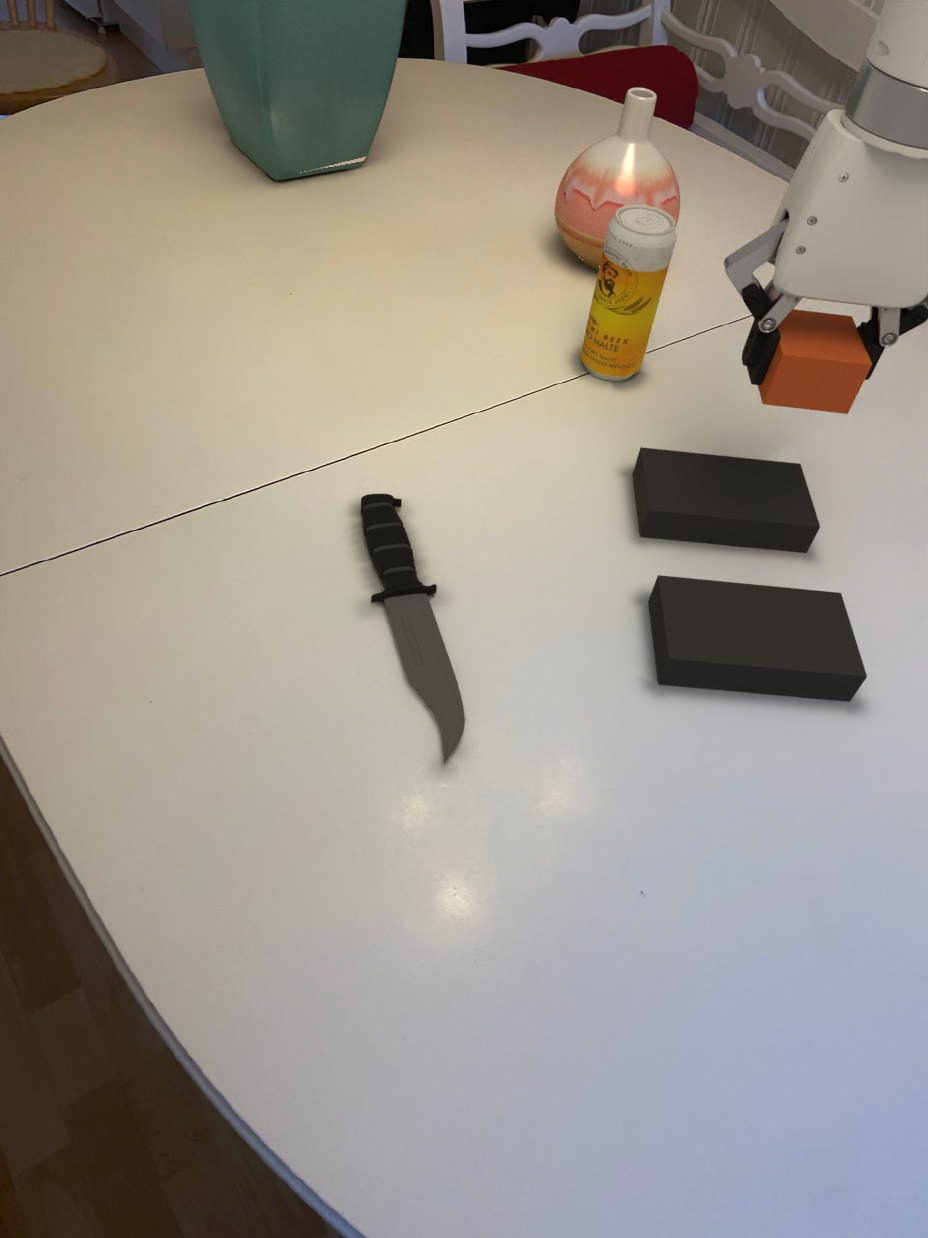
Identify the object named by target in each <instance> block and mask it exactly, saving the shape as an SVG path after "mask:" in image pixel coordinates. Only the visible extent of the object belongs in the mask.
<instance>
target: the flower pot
mask: <svg viewBox="0 0 928 1238" xmlns="http://www.w3.org/2000/svg"><path fill="white" fill-rule="evenodd" d="M185 2H186V9H187V12H188V16H189V20H190V21H189V22H190V25H191V28H192V32H193V36H194V40H195V44H196V47H197V50H198V55H199V58H200V61H201V64H202V67H203V71H204V73H205V76H206V79H207V82H208V85H209V89H210V91H211V94H212V96H213V99H214V102H215V104H216V107H217V110H218V112H219V115H220V118H221V120H222V122H223V125H224V127H225V130H226V132H227V135H228V137H229V138H230V141H231V143H233V145H235V146H236V147H237V148H238V149H239V150H240V151H241V152H242V153H244V154H245V155H246V157H248V159H250V160H251V161H252V162H254V163H255V164H256V165H257V166H258V167H259V168H260V169H261V170H262V171H264V172H265V173H266V174H267V175H268V176H270V178H271V179H273V180H276V181H282V180H283V181H284V180H289V179H295V178H300V177H306V176H307V177H308V176H312V175H313V176H314V175H319V174H323V173H330V172H335V171H340V170H348V169H352V168H357V167H362V166H363V165H364V164H365V161H366V159H365V160H364V161H361V162H356V163H351V164H345V165H340V166H334V167H328V168H323V169H318V170H312V169H316V168H320V167H325V166H329V165H334V164H338V163H341V162H345V161H350V160H354V159H358V158H362V157H365V156H367V157H368V154H369V152H370V151H371V148H372V145H373V143H374V140H375V137H376V136H377V132H378V130H379V127H380V125H381V122H382V119H383V116H384V112H385V110H386V105H387V102H388V99H389V95H390V92H391V87H392V84H393V80H394V77H395V73H396V67H397V63H398V59H399V53H400V49H401V48H400V47H401V42H402V37H403V36H402V35H403V29H404V21H405V12H406V5H407V4H406V3H407V0H185ZM308 170H312V171H308ZM304 171H307V172H304ZM300 172H302V173H300Z"/></svg>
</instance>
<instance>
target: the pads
mask: <svg viewBox="0 0 928 1238" xmlns="http://www.w3.org/2000/svg"><path fill="white" fill-rule="evenodd" d="M633 467H634V468H633V471H632V480H633V481H632V482H633V489H634V497H635V498H634V499H635V505H636V506H635V507H636V514H637V523H638V529H639V537H640V538H649V539H660V540H668V541H669V540H671V541H680V542H692V543H701V544H710V545H719V546H720V545H721V546H731V547H740V548H741V547H742V548H751V549H761V550H762V549H763V550H773V551H782V552H793V553H802V554H807V553H808V552H809V550H810V548H811V545H812V543H813V542H814V540H815V538H816V536H817V534H818V532H819V530H820V529H821V524H820V521H819V519H818V515H817V512H816V508H815V505H814V503H813V498H812V496H811V492H810V490H809V489H810V488H809V485H808V483H807V480H806V477H805V473H804V471H803V467H802V464H801V463H798V462H790V461H789V462H787V461H777V460H769V459H758V458H748V457H740V456H730V455H720V454H711V453H702V452H701V453H700V452H690V451H683V450H682V451H680V450H671V449H662V448H661V449H660V448H651V447H650V448H649V447H644V446H643V447H640V448H639V450H638V454H637V458H636V461H635V464H634V466H633ZM656 576H657V577H656V578H655V582H654V585H653V587H652V590H651V593H650V596H649V598H648V600H647V601H648V603H647V604H648V611H649V612H648V613H649V619H650V629H651V635H652V636H651V637H652V643H653V645H652V646H653V651H654V659H655V668H656V677H657V685H662V686H672V687H683V688H692V689H693V688H694V689H704V690H705V689H706V690H717V691H729V692H736V693H737V692H738V693H747V694H750V693H751V694H761V695H770V696H771V695H772V696H782V697H794V698H803V699H804V698H805V699H815V700H825V701H826V700H827V701H837V702H847V703H848V702H849V703H850V702H851V701H852V699H853V698H854V697H855V695H856V694H857V692H858V690H859V689H860V688H861V687H862V685H863V683H864V682H865V681H866V679H867V678H868V675H867V671H866V668H865V665H864V662H863V659H862V656H861V652H860V649H859V646H858V643H857V640H856V636H855V633H854V629H853V626H852V624H851V620H850V617H849V614H848V610H847V608H846V604H845V601H844V598H843V595H842V592H837V591H827V590H817V589H816V590H815V589H805V588H796V587H785V586H775V585H774V586H773V585H765V584H754V583H744V582H733V581H724V580H722V581H721V580H712V579H701V578H693V577H681V576H671V575H660V574H658V575H656Z"/></svg>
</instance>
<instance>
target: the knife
mask: <svg viewBox="0 0 928 1238" xmlns="http://www.w3.org/2000/svg"><path fill="white" fill-rule="evenodd" d="M402 503H403V499H402V498H396V497H394V496H393V495H392V494H389V493H368V494H365V495H363V496H362V497H361V498H360V515H361V520H362V521H361V522H362V529H363V536H364V538H365V539H364V540H365V543H366V546H367V550H368V553H369V556H370V558H371V562H372V564H373V566H374V568H375V570H376V572H377V574H378V577H379V579H380V580H381V583H382V585H383V587H384V590H382V591H380V592H376V593H374V594H372V595H371V597H370V603H371V604H373V603H384V605H385V608H386V611H387V615H388V618H389V622H390V624H391V627H392V631H393V634H394V638H395V640H396V644H397V647H398V650H399V654H400V657H401V660H402V663H403V667H404V670H405V673H406V677H407V680H408V681H409V682H410V683H411V684H412V685H413V686H414V687H415V689H416V690H417V692H418V693H419V694H420V695H421V696H422V698H423V699H424V700H425V702H426V703H427V705H428V706H429V707H430V709H431V710H432V712H433V714H434V716H435V718H436V719H437V722H438V725H439V727H440V731H441V736H442V737H441V738H442V748H443V750H442V751H443V765H446V763H447V761H448V760H449V758H450V757H452V754H453V753H454V751H455V750H456V749H457V747H458V745H459V743H460V741H461V739H462V737H463V735H464V730H465V723H466V722H465V721H466V720H465V719H466V718H465V717H466V716H465V708H464V705H463V703H464V702H463V699H462V695H461V691H460V687H459V683H458V680H457V677H456V674H455V671H454V668H453V665H452V663H451V660H450V656H449V654H448V651H447V648H446V645H445V642H444V639H443V636H442V633H441V631H440V628H439V625H438V622H437V619H436V616H435V613H434V611H433V608H432V605H431V602H430V599H429V597H430V596H433V595H435V594H436V593H437V589H438V585H437V584H436V583H433V584H431V585H424V583H423V582H421V581H420V580H419V578H418V572H417V571H416V565H415V564H416V563H415V558H414V552H413V548H412V545H411V542H410V539H409V536H408V533H407V530H406V527H404V523H403V520H402V519H401V517H400V516H399V513H398V511H397V510H396V508H402Z"/></svg>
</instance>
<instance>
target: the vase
mask: <svg viewBox="0 0 928 1238" xmlns="http://www.w3.org/2000/svg"><path fill="white" fill-rule="evenodd" d="M657 98H658V95H657V94H656V92H654V91H653V90H651V89H648V88H645V87H631V88H629V89H628V90H627V91H626V95H625V98H624V103H623V108H622V112H621V116H620V121H619V124H618V129H617V132H616V133H613V134H611V135H610V136H607V137H605V138H603V139H600V140H598V141H597V142H595V143H593V144H592V145H590V146H589V147H587V148H586V149H584V150H583V151H582V152H581V153H580V154H579V155H577V157H576V158H575V159H573V161H572V162H571V163H570V165H569V166H568V168H567V169H566V171H565V172H564V174H563V176H562V178H561V180H560V183H559V185H558V187H557V191H556V196H555V200H554V201H555V202H554V219H555V225H556V228H557V231H558V233H559V235H560V237H561V239H562V240H563V242H564V243H565V245H566V246H567V247H568V249H569V250H570V251H571V252H573V253H574V255H575V256H576V258H577V259H578V260H579V261H580V262H582V263H583V264H585V265H586V266H588V267H590V268H592V269H596V270H598V271H599V266H600V262H601V257H602V253H603V248H604V244H605V239H606V234H607V230H608V225H609V222H610V221H611V220H612V219H613V217H614V216H615V214H616V211H617V210H618V209H619V208H621V207H623V206H627V205H647V206H652V207H655V208H658V209H661V210H663V211H665V212H667V213H668V214H670V215H671V216H672V217H673V218H674V220H675V229H676V228H677V226H678V225H677V224H678V222H679V217H680V210H681V193H680V186H679V182H678V178H677V176H676V174H675V171H674V168H673V167H672V165H671V163H670V161H669V160H668V159H667V158H666V156H665V155H664V153H662V151H661V150H660V149H659V148H658V147H657V146H656V144H654V143H653V142H652V141H651V139H650V133H651V128H652V127H651V126H652V124H653V123H652V122H653V118H654V113H655V109H656V104H657ZM579 257H580V258H579ZM582 259H583V260H582Z"/></svg>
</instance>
